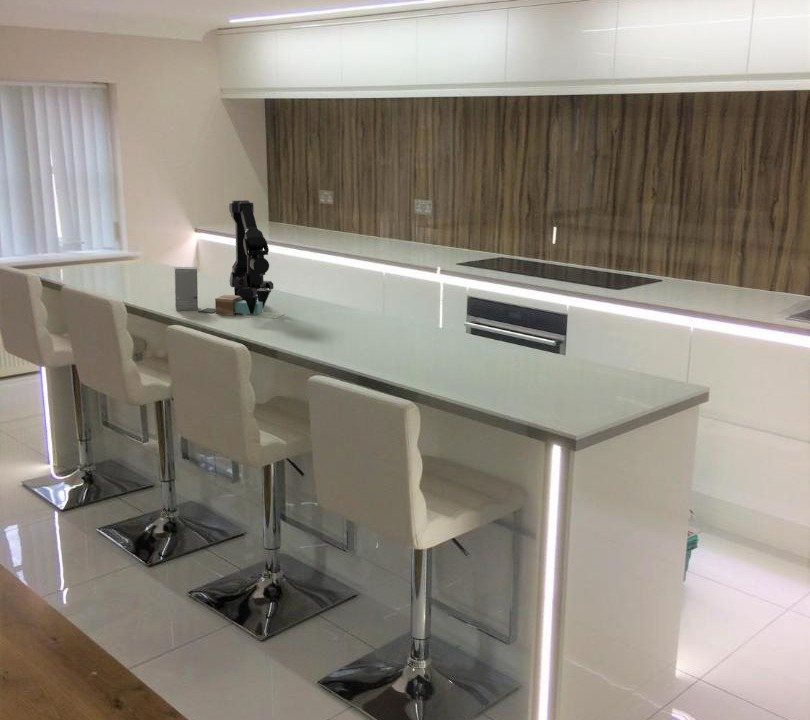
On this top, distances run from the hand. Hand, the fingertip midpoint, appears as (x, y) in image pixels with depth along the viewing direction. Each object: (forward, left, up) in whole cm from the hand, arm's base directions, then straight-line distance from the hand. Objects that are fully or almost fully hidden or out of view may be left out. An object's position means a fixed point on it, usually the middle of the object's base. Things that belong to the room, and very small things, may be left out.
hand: (256, 311), depth 330 cm
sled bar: (0, -6, -1) cm, 6 cm away
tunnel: (0, -11, -1) cm, 11 cm away
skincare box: (-1, -29, -1) cm, 29 cm away
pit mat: (0, -19, -1) cm, 19 cm away
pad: (0, +3, -1) cm, 3 cm away
